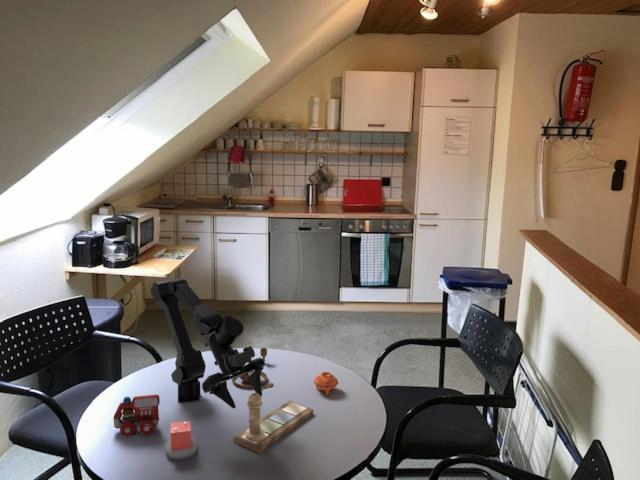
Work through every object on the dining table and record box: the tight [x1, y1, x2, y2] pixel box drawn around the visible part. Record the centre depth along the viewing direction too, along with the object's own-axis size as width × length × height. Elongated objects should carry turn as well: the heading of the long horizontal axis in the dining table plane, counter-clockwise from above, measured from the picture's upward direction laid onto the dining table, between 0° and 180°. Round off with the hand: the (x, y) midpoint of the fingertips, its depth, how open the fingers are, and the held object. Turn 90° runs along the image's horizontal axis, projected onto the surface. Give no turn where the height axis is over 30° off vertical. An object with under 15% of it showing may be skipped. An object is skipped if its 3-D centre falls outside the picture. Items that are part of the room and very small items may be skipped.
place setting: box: [231, 347, 274, 390], centre depth 187 cm, size 18×20×6 cm
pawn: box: [246, 392, 264, 441], centre depth 148 cm, size 5×5×13 cm
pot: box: [313, 371, 339, 396], centre depth 178 cm, size 8×8×7 cm
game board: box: [233, 400, 314, 454], centre depth 157 cm, size 25×9×2 cm, turn 146°
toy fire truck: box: [113, 394, 161, 437], centre depth 153 cm, size 7×12×10 cm, turn 101°
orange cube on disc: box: [165, 420, 198, 461], centre depth 144 cm, size 8×8×8 cm
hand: (248, 402), depth 149 cm, fingers open, 9 cm apart
